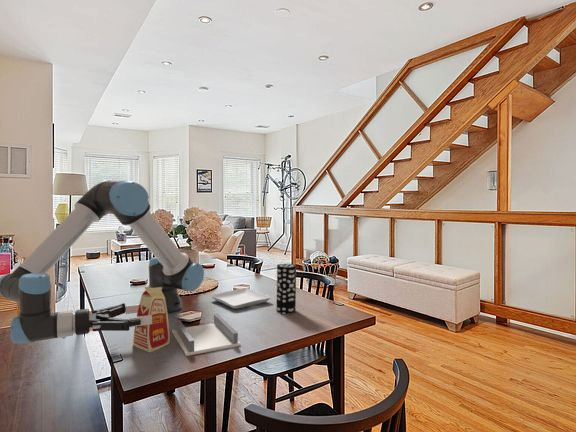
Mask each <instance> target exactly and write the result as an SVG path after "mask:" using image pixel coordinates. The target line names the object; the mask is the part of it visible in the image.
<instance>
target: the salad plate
mask: <svg viewBox="0 0 576 432" xmlns="http://www.w3.org/2000/svg"><path fill="white" fill-rule="evenodd" d="M209 295H210V294H209ZM210 297H211V299H213V300H215V301H217V302H219V303H221V304H223V305H225V306H228V307H230V308H231V309H234V310H237V309H243V308H247V307H252V306H256V305H260V304H263V303H265V302H268V301H270V299H271V298H272V297H271V296H270V295H267V294H265V293H262V292H260V291H256V290H254V289H252V288H248V287H244V288H243V287H242V288H238V289H233V290H229V291H223V292H219V293H214V294H211V295H210Z"/></svg>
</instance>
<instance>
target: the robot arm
mask: <svg viewBox="0 0 576 432" xmlns="http://www.w3.org/2000/svg"><path fill="white" fill-rule="evenodd" d="M149 198H150V196H149V194H148V191H147V190H146V188H145V187H144V186H143V185H141V184H140V183H138V182H136V181H131V180H118V181H117V180H115V181H114V180H113V181H111V180H105V181H102V182H99V183H97V184H95V185H94V186H93V187H91V188H90V189H89V190H87V191H86V192H85V193H84V194H83V195H82V196H81V197H80V198H79V199H78V200H77V201H76V202H75V203H74V206H73V207H74V209H73V210H72V211H71V212H70V213H69V214H68V215H67V216H66V217H65V218H64V219H63V220H62V221H61V222H60V223H59V224H58V225H57V226H56V228H54V229H53V231H51V233H50V234H49V235H47V236H46V238H45V239H44V240H43V241H42V242H41V243H40V244H39V245H38V246H37V247H36V248H35V249H34V250H33V251H31V253H30V254H28V256H27V258H26V259H24V260H23V262H21V264H20V265H19V266H17V268H15V269H14V270H13V272H10V273H6V274H5V275H2V276H1V277H0V296H2V297H3V298H4V299H8V300H9V301H13V302H15V303H18V304H19V315H18V316H15V317H13V318H12V320H11V323H10V331H9V332H10V339H11V342H13V344H24V343H35V342H39V341H45V340H46V341H47V340H51V339H58V338H61V339H64V340H65V339H66V337H67V338H68V337H73V336H74V334H75V336H80V335H87V334H90V328H92V332H100V331H105V332H107V331H109V332H110V331H113V332H116V331H117V332H128V331H130V328H135V326H142V325H149V324H152V315H147V316H140V317H137V316H132V317H129V318H117V316H121V315H124V314H125V315H129V314H137V312H138V308H139V304H140V303H138V304H137V303H136V304H129V305H127V304H126V303H123V302H122V303H120V304H116V305H113V306H112V305H111V306H108V307H105V308H104V307H103V308H100V309H94V310H92V313H90V309H89V308H84V309H83V308H82V309H76V310H75V311H74V310H73V309H72V310H63V311H57V312H52V303H51V302H52V296H51V295H52V284H51V277H50V275H49V274H48V273H49V271H51V269H52V268H53V267H54V266H55V265H56V264H57V263H58V262H59V261H60V259H62V257H63V256H64V255H65V254H66V253H67V252H68V251H69V249H71V247H72V246H73V245H74V244H75V243H76V242H77V241H78V240H79V239H80V237H81V236H83V234H84V233H85V232H86V231H87V230H88V229H89V227H91V225H93V224H94V223H98V222H99V221H101V219H102V218H103V217H104V216H107V215H110V214H111V215H114V217H115V218H116V219H117V221H119V222H120V224H121V225H123V226H128V227H130V229H131V230H132V231H133V232H134V234H136V236H137V237H138V238H139V239H140V241H141V242H142V243H143V244H144V245H145V246H146V248H147V249H148V250H149V251H150V252H151V253H152V255H153V256H154V257H151V258H150V259H149V261H148V283H149V285H148V287H150V288H157V287H162V290H161V291H162V293H163V295H164V297H165V301H166V307H167V313H168V314H170V313H174V312H176V311H179V310H181V309H182V300H181V297H180V295H179V292H178V290H182V291H185V292H193V291H196V290H197V289H199V287H200V286H201V285H202V283H203V281H204V276H205V270H204V267H203V266H202V265H201V263H198V262H194V261H193V260H192V259H191V257H190V256H189V255H188V253H185V252H181V251H180V249H179V248H178V246H176V244H175V243H174V242H173V240H172V239H171V237H169V235H168V233H166V231H165V230H164V228H163V227H162V225H160V223H159V222H158V221H157V219H156V218H155V217H154V216H153V214H152V213H151V205H150V200H149Z"/></svg>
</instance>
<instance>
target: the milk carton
mask: <svg viewBox="0 0 576 432" xmlns="http://www.w3.org/2000/svg"><path fill="white" fill-rule="evenodd" d="M144 289H145V290H144V291H143V292H142V294H141V296H140V300H139V303H138V304H139V308H138V312H137V313H136V317H140V316H147V315H152V324H149V325H142V326H135V327H134V330H133V341H132V345H133V346H134V347H136V348H138V349H140V350H142V351H145V352H147V353H152V352H155V351H157V350H159V349H162V348H163V347H165V346H168V345H170V343H171V342H170V341H171V340H170V339H171V338H170V337H171V336H170V325H169V313H167V307H166V301H165V297H164V295H163V293H162V291H161V290H162V287H157V288H150V287H149V286H148V287H147V286H145V287H144Z"/></svg>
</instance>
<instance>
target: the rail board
mask: <svg viewBox="0 0 576 432" xmlns="http://www.w3.org/2000/svg"><path fill="white" fill-rule="evenodd" d="M171 330H172V331H171V332H172V334H173V336H174V338H175V339H176V341H177V344H178V345H179V346H180V348H181V350H182V351H183V353H184V355H185V356H186V357H188V356H193V355H198V354H203V353H209V352H214V351H221V350H225V349H230V348H235V347H239V346H241V345H242V343H241V342H240V340H239V336H238V335H239V332H237V331H236V330H235V329H234V328H233V327H232V326H231V325H230V324H229V323H228V322H227V321H226V320H225V319H224V318H223V317H222V316H221V315H219V313H213V323H205V324H199V325H194V326H188V327H187V326H185V325H184V324H183V322H182V321H181V320H180V319H179V318H178V319H174V329H171Z"/></svg>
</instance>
